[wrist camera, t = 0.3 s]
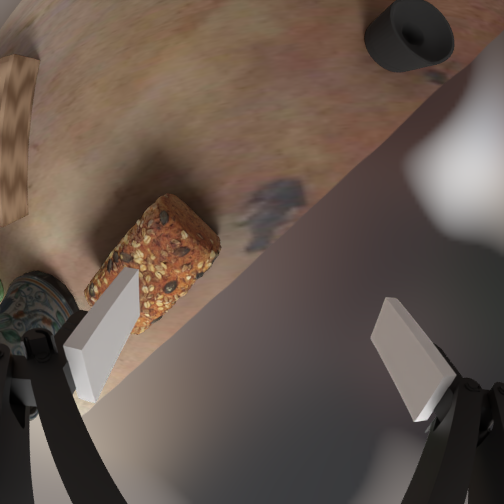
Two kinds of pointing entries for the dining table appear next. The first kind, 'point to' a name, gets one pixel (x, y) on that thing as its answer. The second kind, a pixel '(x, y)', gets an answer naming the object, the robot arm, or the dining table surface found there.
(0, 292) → the ramekin
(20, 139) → the block
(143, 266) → the bread
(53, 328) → the beer stein
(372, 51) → the pen holder
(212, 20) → the dining table surface
